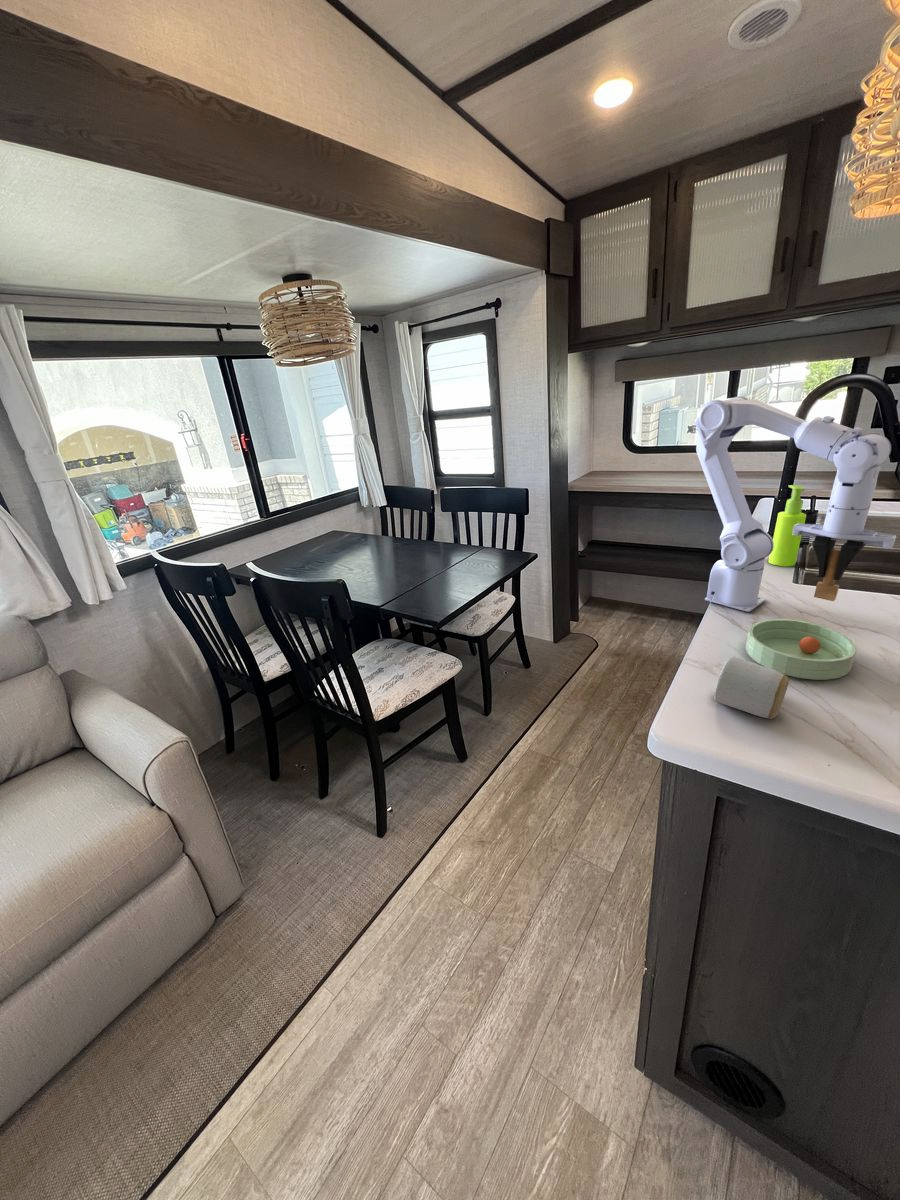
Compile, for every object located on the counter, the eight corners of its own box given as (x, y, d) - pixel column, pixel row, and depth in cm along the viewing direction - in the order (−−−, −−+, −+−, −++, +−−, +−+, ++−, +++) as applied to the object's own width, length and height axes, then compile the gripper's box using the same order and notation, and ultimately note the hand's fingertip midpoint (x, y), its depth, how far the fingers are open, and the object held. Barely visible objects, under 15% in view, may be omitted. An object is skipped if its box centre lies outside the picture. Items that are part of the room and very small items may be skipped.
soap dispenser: (790, 558, 126) (806, 483, 118) (798, 566, 120) (816, 488, 112) (764, 557, 128) (779, 483, 120) (771, 566, 122) (787, 489, 114)
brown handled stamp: (813, 597, 91) (825, 548, 87) (816, 594, 92) (828, 546, 88) (833, 602, 88) (846, 551, 84) (836, 599, 89) (849, 549, 85)
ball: (794, 652, 84) (798, 637, 83) (801, 646, 85) (804, 632, 84) (814, 658, 82) (818, 643, 80) (820, 652, 83) (824, 637, 82)
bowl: (730, 658, 85) (733, 638, 83) (765, 629, 93) (769, 611, 91) (831, 693, 73) (838, 672, 72) (862, 657, 81) (868, 637, 80)
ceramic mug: (772, 731, 67) (783, 686, 64) (710, 709, 72) (718, 667, 69) (787, 696, 74) (798, 654, 71) (730, 679, 79) (738, 639, 76)
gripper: (909, 506, 80) (886, 580, 85) (808, 497, 90) (793, 563, 96) (898, 515, 76) (874, 591, 81) (794, 504, 87) (780, 573, 92)
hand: (830, 577), depth 88 cm, fingers closed on brown handled stamp, 2 cm apart
